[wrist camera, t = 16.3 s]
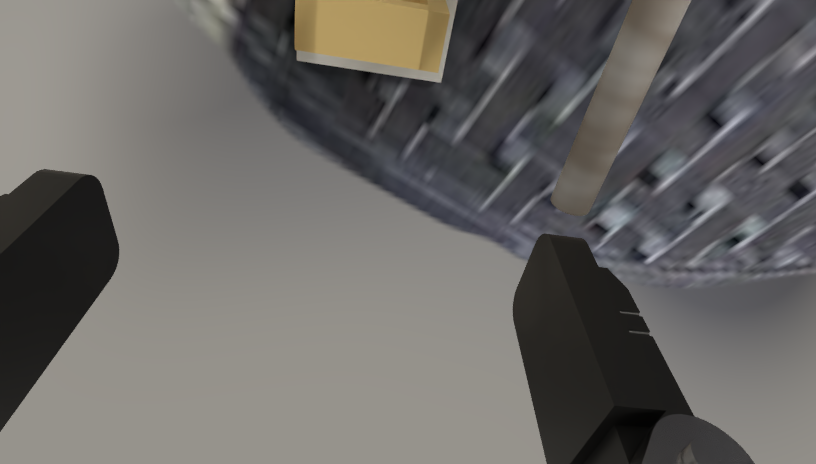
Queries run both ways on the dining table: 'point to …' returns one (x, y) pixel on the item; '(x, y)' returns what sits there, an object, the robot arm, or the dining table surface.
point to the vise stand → (617, 100)
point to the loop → (374, 30)
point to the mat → (383, 68)
